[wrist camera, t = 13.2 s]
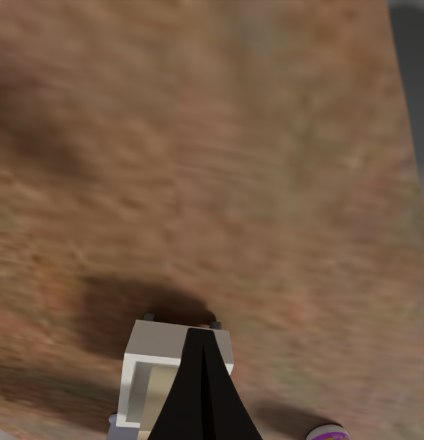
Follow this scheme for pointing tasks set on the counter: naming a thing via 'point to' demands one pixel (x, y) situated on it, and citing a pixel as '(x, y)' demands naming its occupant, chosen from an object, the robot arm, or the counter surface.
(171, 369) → the block
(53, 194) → the counter surface
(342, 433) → the supplement bottle
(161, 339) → the white open storage bin
